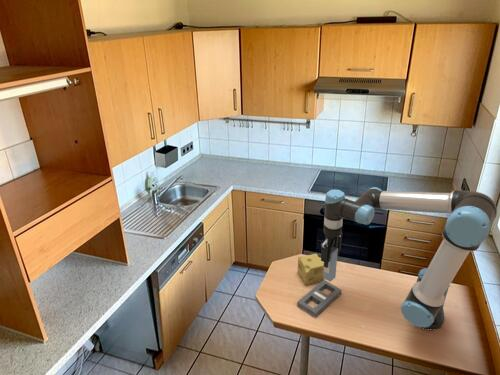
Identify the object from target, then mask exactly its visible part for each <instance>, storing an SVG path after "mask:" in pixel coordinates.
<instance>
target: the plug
mask: <svg viewBox="0 0 500 375" xmlns="http://www.w3.org/2000/svg"><path fill="white" fill-rule="evenodd" d="M337 252H338V248H335V247H333V248H332V250H331V255H330V260H329V261H331V262H330V273H329V274H328V273H326V272H325V271H324V268H323V278H324V280H325V281H327V282H329V283H331V282H332V281H333V280H334V279H336V276H337V275H336V274H337V262H338V256H337ZM338 253H339V252H338Z"/></svg>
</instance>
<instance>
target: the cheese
mask: <svg viewBox="0 0 500 375" xmlns="http://www.w3.org/2000/svg"><path fill="white" fill-rule="evenodd" d="M323 268H324V262H323V261H321V257H319V255H318V254H317V253H313V254H308V255H303V256H298V258H297V273H298V275H299V276H300V278H301V279H302V283H303V284H304V285H305V286H308V285H311V284H317V283H320V282H322V281H323V280H325V279H324V278H323Z"/></svg>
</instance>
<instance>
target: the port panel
mask: <svg viewBox="0 0 500 375" xmlns="http://www.w3.org/2000/svg"><path fill="white" fill-rule="evenodd" d="M325 289H327V290H328V291H330V292H331V293H330V294H327V293H325V292H323V290H325ZM342 291H343V290H342V289H341V288H339V287H337V285H334V284H332V283H331V282H330V281H328V280H326V279H324V280H323V281H322V282H318V284H317V285H316V286H314V287H313V288H312V289H311V290H309V292H307V293H306V294H305V295H303V296H302V297H301V298H300V299H299V300H297V305H296V306H297V307H299V308H300V309H301V310H303V311H304V312H306V313H308V315H311V316H312V317H314V318H317V316H319V315H320V314H321V313H323V312H324V311H325V309H327V307H328V306H330V305H331V304H332V303H333V302H335V300H336V299H338V297H340V296H341V295H342ZM310 301H312V302H314V303H315V304H317V305H316V306H315V307H312V306H310V305H309V304H308V303H309V302H310Z"/></svg>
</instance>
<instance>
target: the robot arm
mask: <svg viewBox="0 0 500 375" xmlns="http://www.w3.org/2000/svg"><path fill="white" fill-rule="evenodd" d="M324 200H325V201H324V219H323V220H324V221H323V234H324V236H325V237H324V241H323V242H321V243H320V248H321V250H320V259H321V261H322V262H323V263H324V271H325V272H326V273H328V274H329V273H330V262H331V261H329V260H330V255H331V250H332V248H333V247H335V248H338V252H337V257H339V256H340V253H341V249H342V239H343V235H344V233H343V220H344V218H345V219H347V220H350V221H352V222H356V223H358V224H363V225H365V226H366V225H368V226H369V225H370V224H371V223H372V221H373V219H374V217H375V210H386V211H387V210H388V211H389V210H390V211H404V212H419V213H432V214H443V215H445V214H446V215H448V217H447V219H446V223H445V225H444V227H443V229H442V231H441V236H442V241H441V243H440V245H439V246H438V248H437V251H436V252H435V254H434V256H433V258H432V259H431V261H430V263H429V266H428V267H424V268H421V269H420V270H419V272H418V274H417V279H416V281H415V283H414V284H413V286H412V287H411V288H410V291H409V293H408V294H407V296H406V297H405V300H404V301H403V302H402V304H401V306H400V312H401V314H402V316H403V317H404V318H405V320H406V321H407V322H409V323H410V324H411V325H413V326H416V327H418V328H420V327H421V328H420V329H423V328H424V329H423V330H426V329H429V330H428V331H435V330H434V329H436V330H439V329H441V328H442V327H443V326H444V323H445V320H446V319H445V318H446V316H445V310H444V305H445V302H446V298H447V294H448V291H449V288H450V286H451V285H450V284H451V283H452V281H453V280H454V279H455V277H456V275H457V273H458V271H459V270H460V268H462V265H463V263H464V261H465V260H466V258H467V257H468V255H469V254H470V252H475V251H477V250H478V249H479V248H480V247H481V244H482V243H483V242H484V241H485V240H487V238H488V236H489V235H490V232H491V228H492V226H493V224H494V221H495V219H496V217H497V214H498V209H497V205H496V202H495V201H494V200H493V199H492V198H491V197H490V196H488V195H487V194H485V193H482V192H479V191H473V190H452V191H451V192H428V191H426V192H425V191H395V190H393V191H392V190H391V191H389V190H382V189H381V188H379V187H375V186H374V187H373V186H372V187H370V188H369V189H367V190H365V191H364V193H362V194H361V196H359V197H358V198H357V199H356V200H351V199H349V198H346V194H345V192H344V191H342V190H340V189H330V190H329V191H327V192H326V194H325V199H324ZM442 325H443V326H442ZM441 326H442V327H441ZM440 327H441V328H440ZM438 328H439V329H438ZM430 329H431V330H430Z"/></svg>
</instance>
